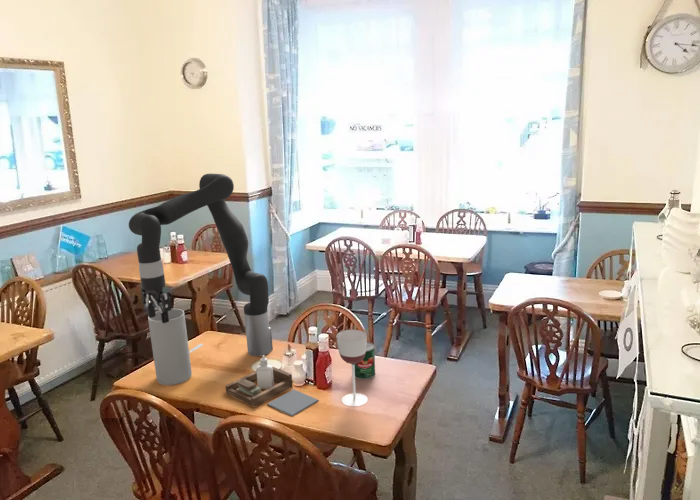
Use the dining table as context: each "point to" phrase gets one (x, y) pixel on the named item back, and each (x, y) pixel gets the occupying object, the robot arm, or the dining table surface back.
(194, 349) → the butter knife
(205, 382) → the dining table surface
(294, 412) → the grey rubber mat
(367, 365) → the canned tomato
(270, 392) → the frame
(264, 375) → the eye dropper bottle
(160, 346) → the cylinder vase
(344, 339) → the wineglass
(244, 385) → the offcut stack
